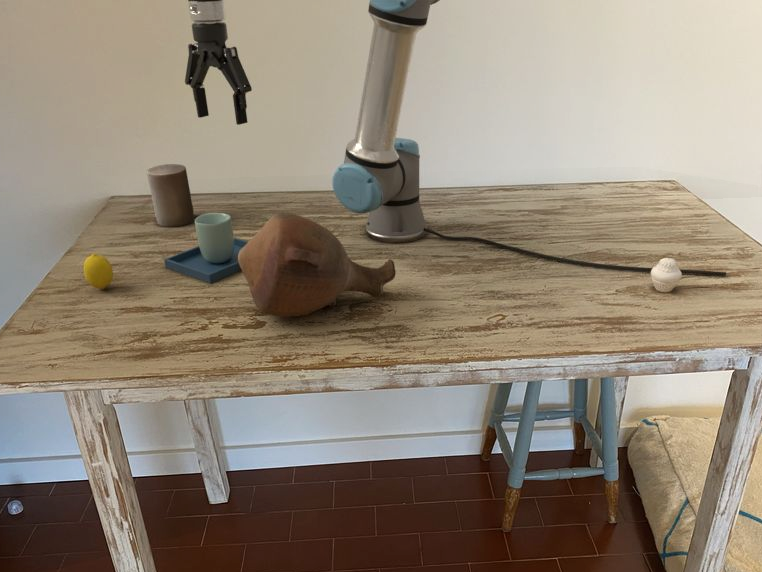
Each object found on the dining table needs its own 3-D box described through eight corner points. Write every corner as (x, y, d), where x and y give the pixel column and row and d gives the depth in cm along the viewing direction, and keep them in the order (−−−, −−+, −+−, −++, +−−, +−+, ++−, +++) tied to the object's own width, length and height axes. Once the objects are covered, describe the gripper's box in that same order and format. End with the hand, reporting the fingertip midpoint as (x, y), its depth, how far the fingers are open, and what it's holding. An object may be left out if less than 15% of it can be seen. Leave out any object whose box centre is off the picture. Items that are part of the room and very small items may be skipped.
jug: (235, 335, 132) (392, 341, 140) (240, 246, 119) (411, 258, 128) (235, 272, 147) (376, 281, 155) (239, 187, 134) (393, 201, 143)
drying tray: (272, 256, 165) (271, 248, 164) (210, 283, 152) (209, 275, 151) (227, 242, 172) (226, 235, 171) (165, 267, 160) (164, 259, 159)
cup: (227, 268, 158) (221, 225, 153) (195, 265, 159) (188, 223, 154) (242, 255, 165) (236, 213, 160) (211, 252, 166) (204, 211, 161)
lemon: (90, 297, 147) (80, 261, 143) (87, 286, 151) (78, 251, 147) (118, 291, 149) (109, 256, 145) (114, 281, 153) (106, 247, 149)
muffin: (641, 285, 149) (647, 255, 146) (665, 281, 152) (670, 250, 148) (661, 297, 144) (667, 265, 141) (685, 292, 147) (691, 261, 143)
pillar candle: (202, 218, 188) (193, 162, 180) (173, 229, 180) (162, 171, 173) (177, 212, 192) (167, 156, 185) (148, 222, 185) (136, 165, 177)
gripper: (159, 20, 161) (175, 116, 172) (233, 26, 149) (246, 129, 160) (185, 17, 167) (200, 111, 177) (260, 23, 154) (271, 123, 165)
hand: (222, 120), depth 168 cm, fingers open, 13 cm apart
